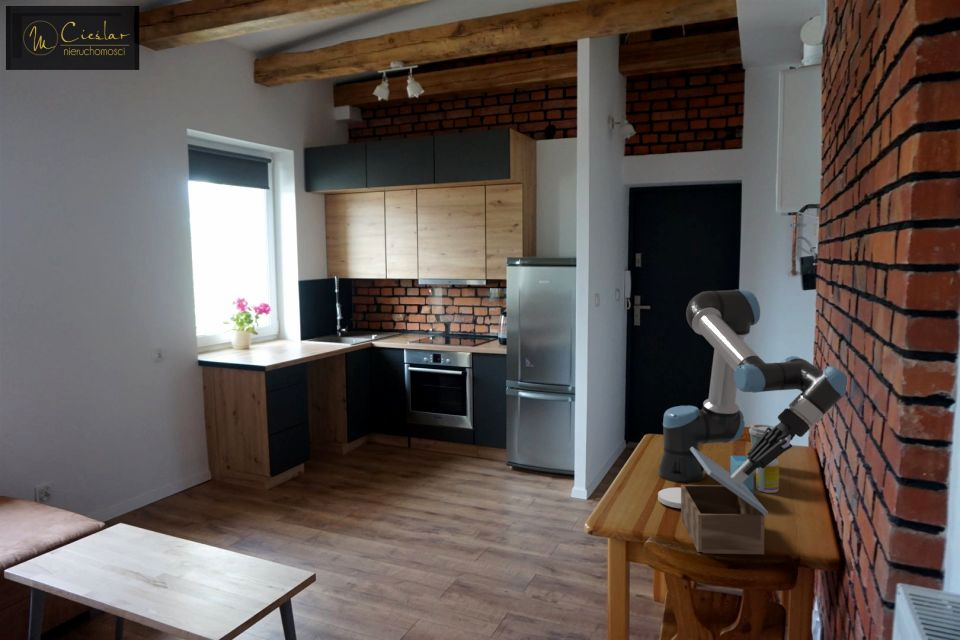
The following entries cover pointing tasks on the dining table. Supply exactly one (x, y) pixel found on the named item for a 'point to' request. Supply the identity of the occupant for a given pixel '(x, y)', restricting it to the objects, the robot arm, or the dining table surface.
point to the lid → (727, 480)
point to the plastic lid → (670, 497)
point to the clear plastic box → (721, 520)
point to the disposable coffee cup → (757, 432)
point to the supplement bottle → (768, 477)
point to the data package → (735, 464)
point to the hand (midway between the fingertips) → (735, 480)
